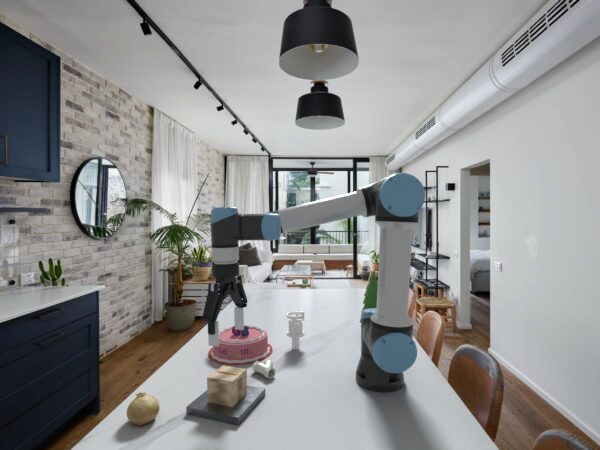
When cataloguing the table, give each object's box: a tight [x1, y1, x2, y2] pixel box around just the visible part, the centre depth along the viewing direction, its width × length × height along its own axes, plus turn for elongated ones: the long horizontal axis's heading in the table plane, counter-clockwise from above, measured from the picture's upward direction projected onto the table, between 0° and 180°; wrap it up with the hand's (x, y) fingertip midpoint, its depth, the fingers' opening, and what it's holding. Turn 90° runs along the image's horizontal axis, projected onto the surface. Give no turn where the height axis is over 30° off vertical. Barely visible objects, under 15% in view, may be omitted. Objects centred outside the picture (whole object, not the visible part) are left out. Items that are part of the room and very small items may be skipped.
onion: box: [126, 391, 160, 427], centre depth 93 cm, size 8×8×7 cm
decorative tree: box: [359, 269, 378, 324], centre depth 150 cm, size 10×9×30 cm
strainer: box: [286, 310, 305, 351], centre depth 142 cm, size 7×7×15 cm
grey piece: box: [185, 384, 266, 426], centre depth 101 cm, size 16×16×8 cm
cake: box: [207, 325, 274, 366], centre depth 139 cm, size 25×25×11 cm
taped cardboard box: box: [206, 364, 248, 407], centre depth 101 cm, size 8×8×7 cm
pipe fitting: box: [251, 359, 276, 380], centre depth 120 cm, size 8×4×7 cm
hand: (227, 337), depth 100 cm, fingers open, 13 cm apart
